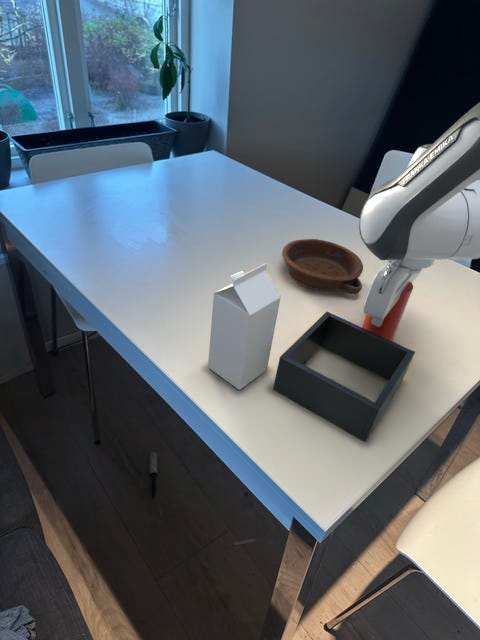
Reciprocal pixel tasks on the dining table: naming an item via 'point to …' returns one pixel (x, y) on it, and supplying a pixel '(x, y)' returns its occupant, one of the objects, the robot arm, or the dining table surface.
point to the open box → (328, 394)
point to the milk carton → (243, 326)
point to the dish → (323, 265)
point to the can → (390, 316)
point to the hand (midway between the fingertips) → (384, 314)
